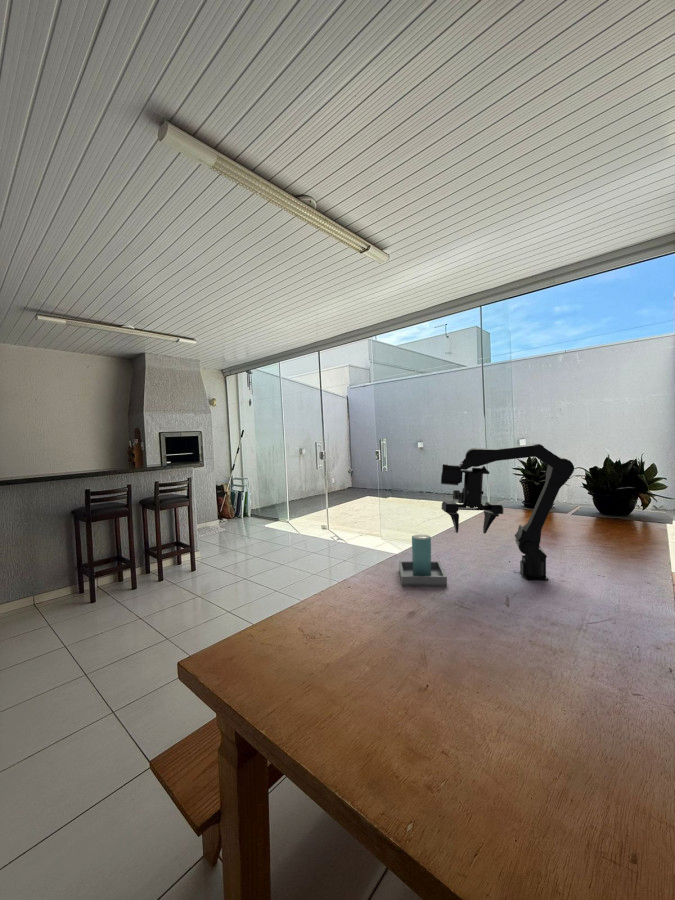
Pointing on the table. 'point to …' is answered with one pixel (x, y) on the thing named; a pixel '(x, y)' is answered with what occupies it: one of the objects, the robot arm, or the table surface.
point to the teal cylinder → (421, 555)
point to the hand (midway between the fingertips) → (470, 532)
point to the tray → (410, 580)
